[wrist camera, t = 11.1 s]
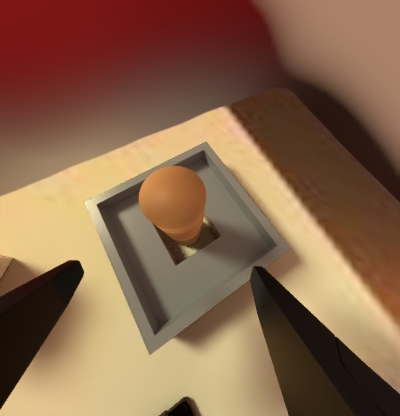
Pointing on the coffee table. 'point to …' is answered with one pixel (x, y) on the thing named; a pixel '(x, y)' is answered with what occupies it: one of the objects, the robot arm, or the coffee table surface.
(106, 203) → the socket box
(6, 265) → the supplement box
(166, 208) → the orange peg
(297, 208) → the coffee table surface
